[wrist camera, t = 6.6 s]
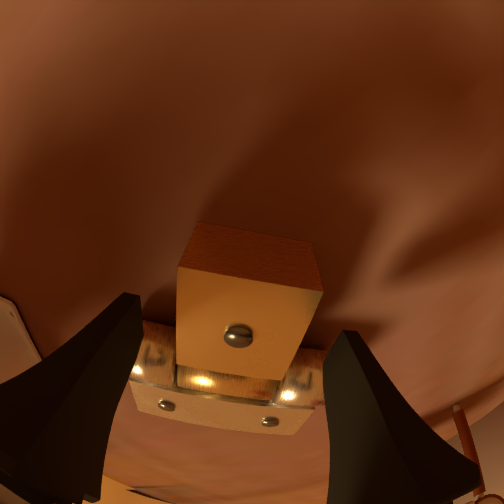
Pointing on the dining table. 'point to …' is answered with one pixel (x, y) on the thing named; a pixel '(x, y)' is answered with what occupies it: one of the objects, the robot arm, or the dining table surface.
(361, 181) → the dining table surface
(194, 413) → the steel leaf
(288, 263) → the wooden block with screw
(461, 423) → the magnifying glass
